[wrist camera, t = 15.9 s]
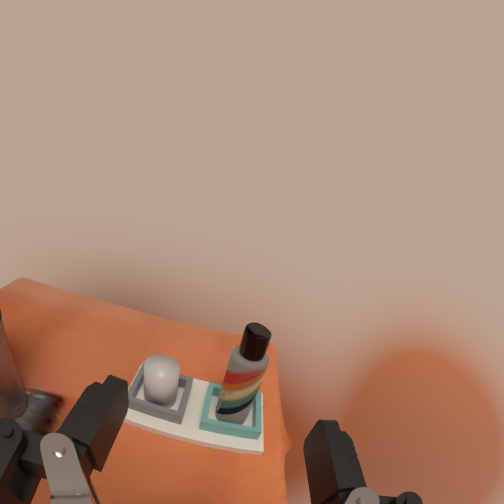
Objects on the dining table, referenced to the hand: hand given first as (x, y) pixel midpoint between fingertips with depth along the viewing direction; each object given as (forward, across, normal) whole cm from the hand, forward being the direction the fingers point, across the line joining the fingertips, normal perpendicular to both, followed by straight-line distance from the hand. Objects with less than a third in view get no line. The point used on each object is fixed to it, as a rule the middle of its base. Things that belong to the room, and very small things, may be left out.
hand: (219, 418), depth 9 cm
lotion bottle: (+25, -5, +30) cm, 40 cm away
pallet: (+26, +2, +32) cm, 41 cm away
